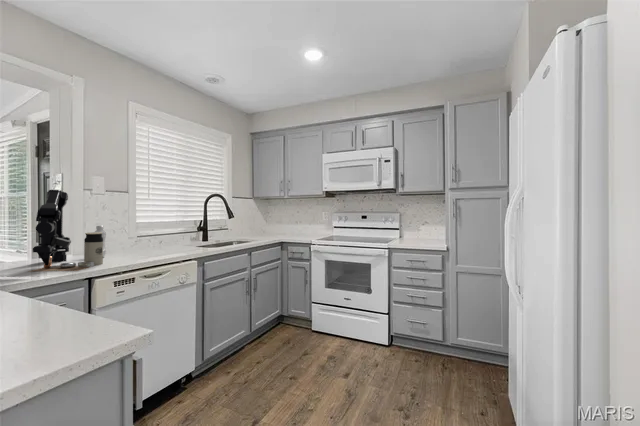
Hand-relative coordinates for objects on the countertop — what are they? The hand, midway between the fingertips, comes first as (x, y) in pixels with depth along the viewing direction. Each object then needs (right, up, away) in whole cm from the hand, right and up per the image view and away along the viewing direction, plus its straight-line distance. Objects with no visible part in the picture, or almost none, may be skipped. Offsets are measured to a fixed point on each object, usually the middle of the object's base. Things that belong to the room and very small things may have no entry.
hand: (47, 264), depth 148 cm
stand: (+7, -3, 0) cm, 8 cm away
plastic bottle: (-7, -3, +44) cm, 45 cm away
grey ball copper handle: (+4, -2, +2) cm, 5 cm away
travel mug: (+13, -3, +13) cm, 18 cm away
